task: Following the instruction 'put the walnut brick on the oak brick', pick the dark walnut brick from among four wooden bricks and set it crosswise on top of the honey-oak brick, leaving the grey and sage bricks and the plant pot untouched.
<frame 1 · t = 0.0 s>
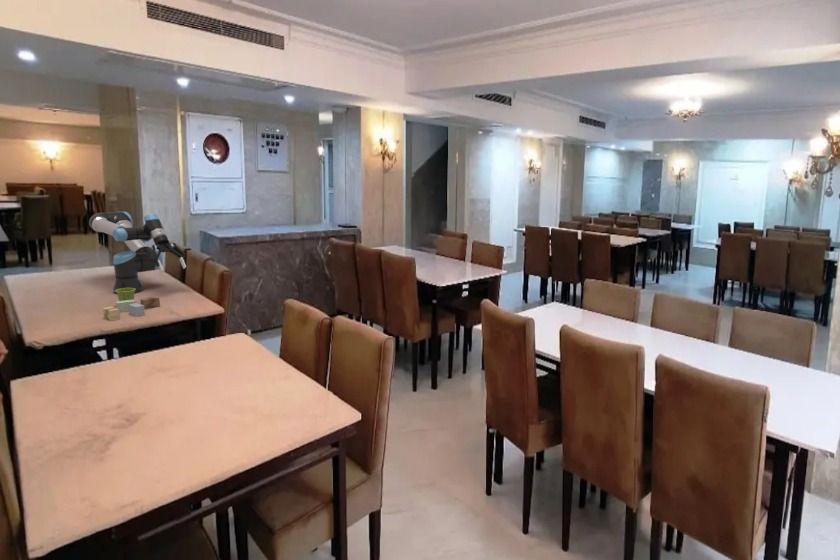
hand: (173, 269, 293), 15 cm above the table, tool tilted 35°, fingers open, 13 cm apart
sage brick: (126, 310, 263), on the table
oak brick: (111, 318, 249), on the table
walnut brick: (150, 307, 270), on the table
plant pot: (127, 305, 272), on the table
grey brick: (136, 314, 257), on the table
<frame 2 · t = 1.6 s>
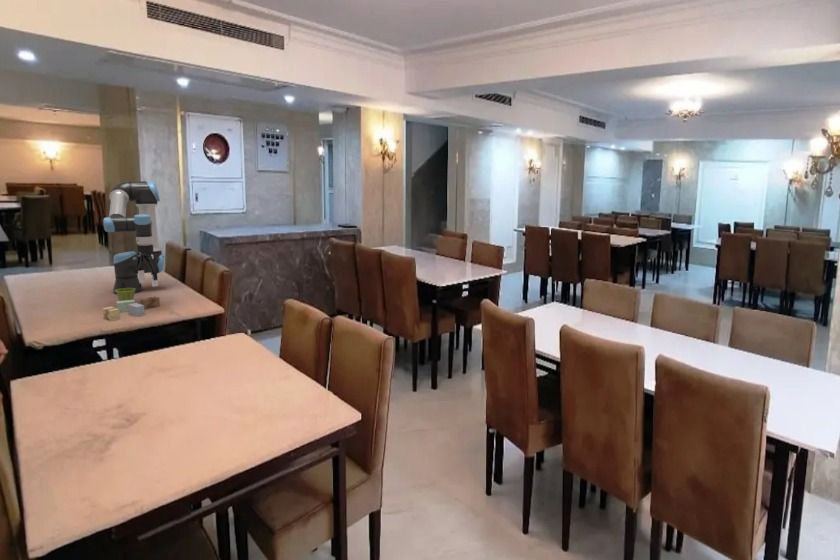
hand: (148, 284, 267), 12 cm above the table, tool pointing down, fingers open, 13 cm apart
nothing on the table moved.
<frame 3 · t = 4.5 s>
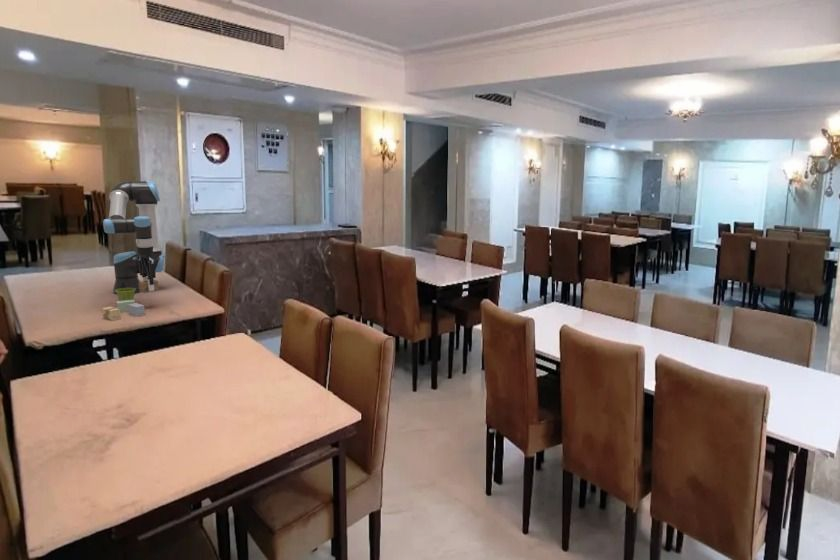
hand: (149, 289, 268), 9 cm above the table, tool pointing down, fingers closed on walnut brick, 4 cm apart
walnut brick: (148, 290, 268), point 9 cm above the table, touching gripper
everything else where it was.
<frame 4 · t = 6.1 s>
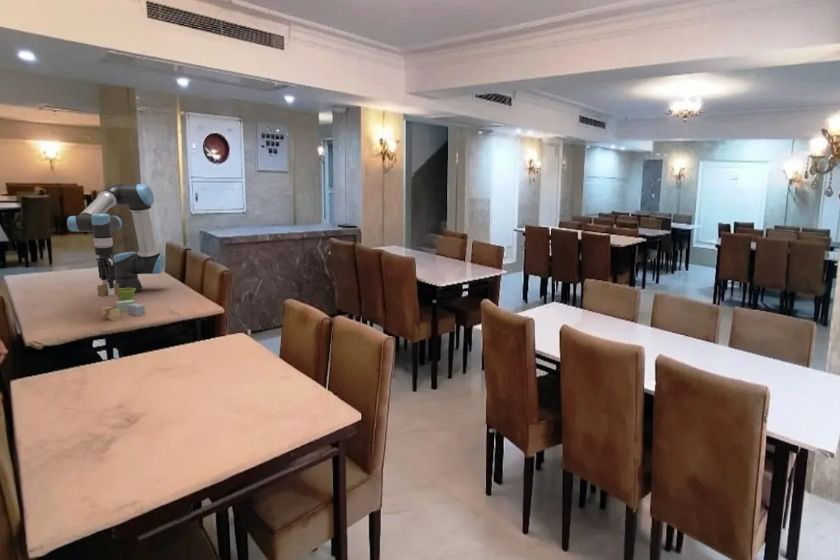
hand: (109, 293, 246), 12 cm above the table, tool pointing down, fingers closed on walnut brick, 4 cm apart
walnut brick: (109, 294, 246), point 12 cm above the table, touching gripper
everything else where it was.
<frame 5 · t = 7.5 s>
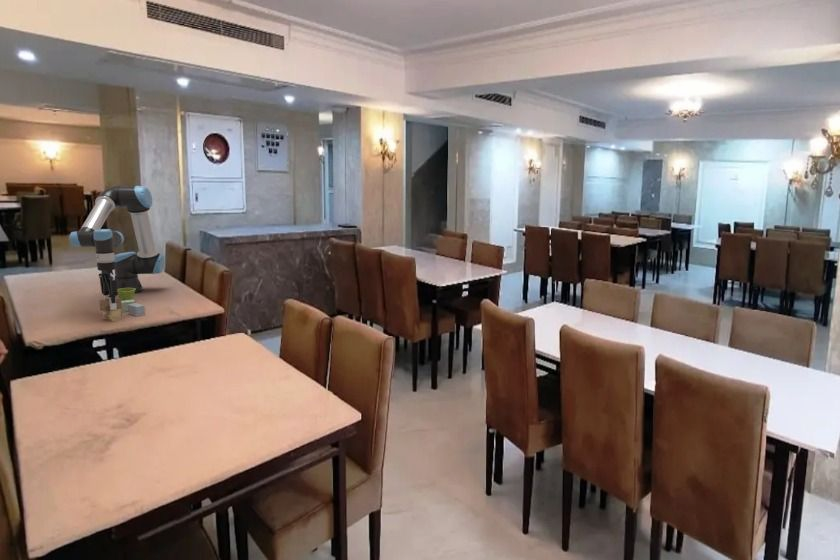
hand: (111, 308, 247), 5 cm above the table, tool pointing down, fingers closed on walnut brick, 4 cm apart
oak brick: (112, 319, 249), on the table, touching gripper, walnut brick
walnut brick: (111, 309, 247), point 5 cm above the table, touching gripper, oak brick
everything else where it was.
when the fingers open (5 cm above the table, at t = 7.9 s): walnut brick stays where it is, resting on oak brick.
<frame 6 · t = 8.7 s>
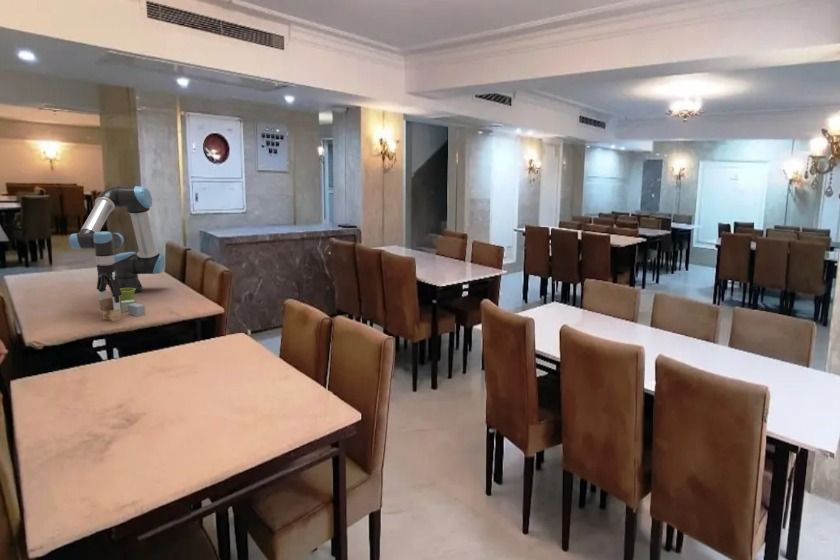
hand: (110, 306, 248), 6 cm above the table, tool pointing down, fingers open, 13 cm apart
oak brick: (112, 318, 248), on the table, touching walnut brick
walnut brick: (111, 309, 247), point 5 cm above the table, touching oak brick
everything else where it was.
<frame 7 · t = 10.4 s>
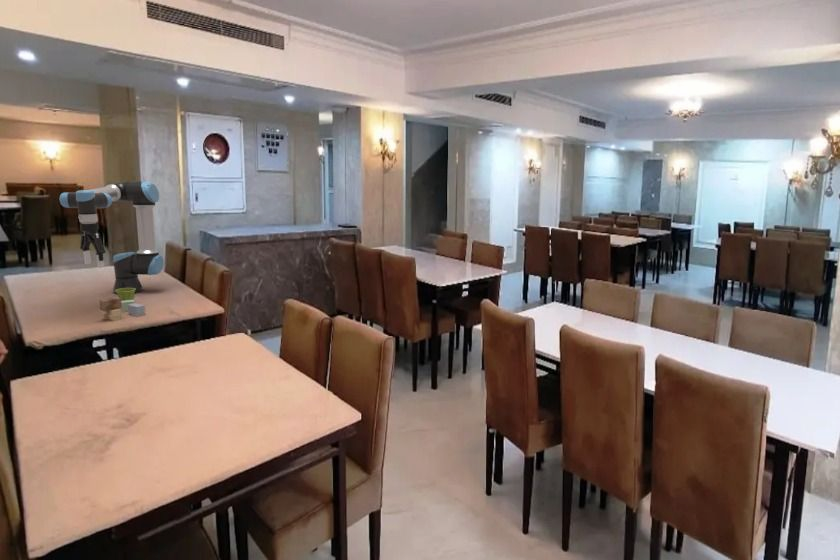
hand: (94, 265, 251), 25 cm above the table, tool pointing down, fingers open, 13 cm apart
nothing on the table moved.
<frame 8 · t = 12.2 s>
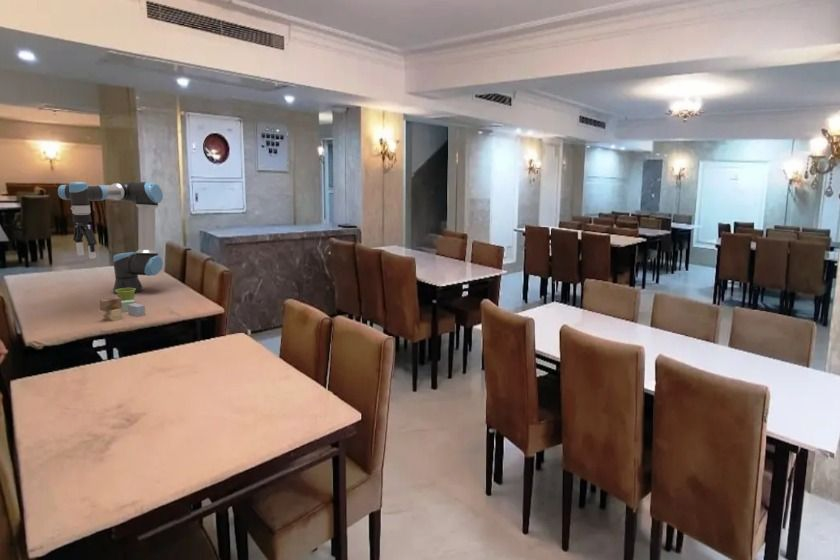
hand: (86, 256, 252), 29 cm above the table, tool pointing down, fingers open, 13 cm apart
nothing on the table moved.
at the end: walnut brick 0.1 cm off-centre on the oak brick, point 5.0 cm above the oak brick's base; grey brick moved 0.2 cm from its start; sage brick moved 0.2 cm from its start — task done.
